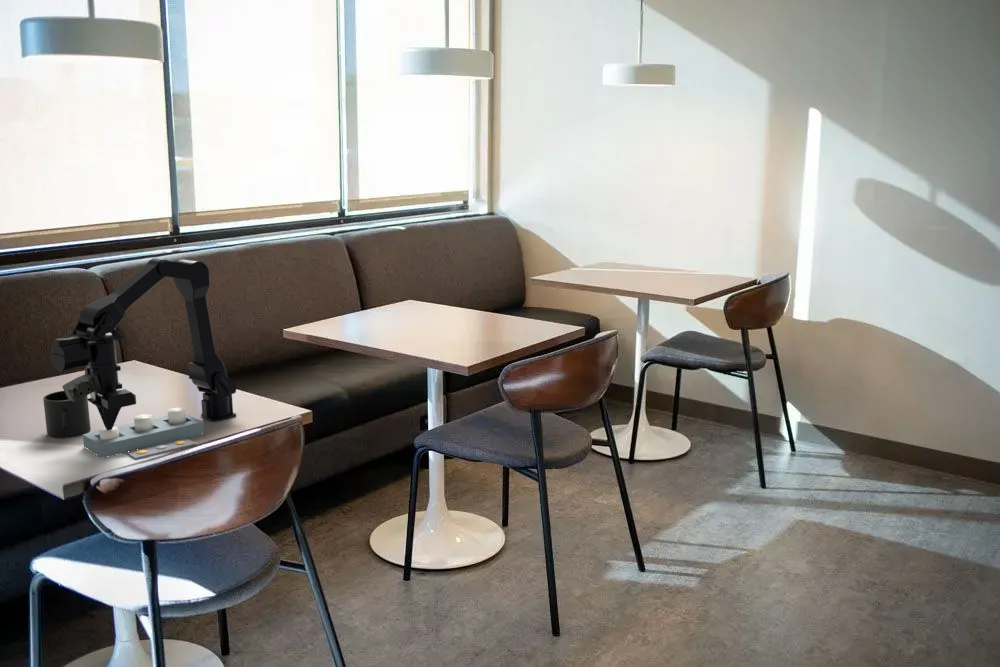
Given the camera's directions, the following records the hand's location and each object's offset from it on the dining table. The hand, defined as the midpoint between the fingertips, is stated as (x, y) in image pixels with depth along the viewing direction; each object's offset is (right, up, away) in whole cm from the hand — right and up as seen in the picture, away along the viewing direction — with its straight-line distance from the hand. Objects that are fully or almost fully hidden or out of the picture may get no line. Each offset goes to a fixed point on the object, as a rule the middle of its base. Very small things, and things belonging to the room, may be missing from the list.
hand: (109, 429), depth 218 cm
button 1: (0, -4, +1) cm, 4 cm away
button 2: (+12, 0, +11) cm, 16 cm away
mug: (-14, -2, +11) cm, 18 cm away
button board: (+6, -3, +6) cm, 9 cm away
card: (+12, -4, 0) cm, 12 cm away
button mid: (+6, -1, +6) cm, 8 cm away
